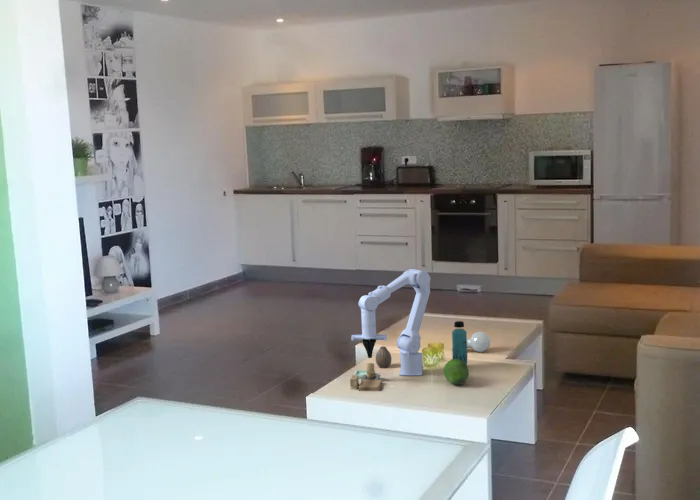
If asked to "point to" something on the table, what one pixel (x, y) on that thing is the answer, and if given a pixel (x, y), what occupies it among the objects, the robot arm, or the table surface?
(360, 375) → the tray
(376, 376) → the collar
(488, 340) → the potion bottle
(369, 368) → the dowel
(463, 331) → the beverage bottle
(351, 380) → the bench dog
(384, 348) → the vase
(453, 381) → the fruit
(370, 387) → the board
